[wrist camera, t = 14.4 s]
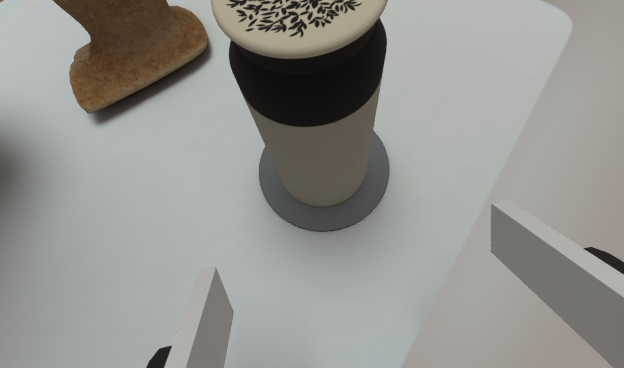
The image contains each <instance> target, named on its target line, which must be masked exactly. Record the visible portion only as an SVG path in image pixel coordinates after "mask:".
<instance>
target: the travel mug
mask: <svg viewBox="0 0 624 368" xmlns="http://www.w3.org/2000/svg"><path fill="white" fill-rule="evenodd" d="M387 1H388V0H211V5H212V10H213V14H214V17H215V19H216V22H217V23H218V25H219V27H220V28H221V29H222V31H223V32H224V33H225V34H226V35H227V36H228V37H229V38H230V39H231V42H230V48H229V61H230V66H231V69H232V72H233V74H234V76H235V78H236V81H237V83H238V85H239V87H240V90H241V92H242V94H243V96H244V99H245V101H246V103H247V105H248V107H249V110H250V112H251V114H252V116H253V119H254V121H255V123H256V125H257V128H258V130H259V132H260V134H261V137H262V139H263V141H264V143H265V145H266V148H267V150H268V152H269V154H270V157H271V159H272V161H273V163H274V166H275V168H276V170H277V172H278V175H279V177H280V179H281V181H282V183H283V185H284V187H285V189H286V190H287V191H288V192H289V193H290V195H292V196H293V197H294V198H295V199H297V200H298V201H300V202H302V203H305V204H308V205H311V206H318V207H324V206H332V205H336V204H339V203H341V202H343V201H345V200H347V199H348V198H350V197H351V196H352V195H353V194H354V193H355V192H356V191H357V190H358V189H359V187H360V186H361V184H362V183H363V180H364V178H365V174H366V169H367V163H368V157H369V151H370V145H371V139H372V133H373V127H374V121H375V115H376V109H377V103H378V97H379V91H380V85H381V79H382V73H383V67H384V61H385V55H386V47H387V39H386V33H385V29H384V26H383V24H382V22H381V20H380V18H379V17H380V16H381V14H382V12H383V11H384V9H385V6H386V4H387Z"/></svg>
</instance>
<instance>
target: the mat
mask: <svg viewBox="0 0 624 368" xmlns="http://www.w3.org/2000/svg"><path fill="white" fill-rule="evenodd" d="M388 178H389V160H388V156H387V152H386V149H385V147H384V145H383V143H382V141H381V140H380V138H379V137H378V135H377V134H376V133H375V132H374V131H373V133H372V139H371V145H370V151H369V157H368V163H367V169H366V174H365V178H364V180H363V183H362V184H361V186H360V187H359V189H358V190H357V191H356V192H355V193H354V194H353V195H352V196H351V197H350V198H348V199H347V200H345V201H343V202H341V203H339V204H336V205H332V206H324V207H318V206H311V205H308V204H305V203H302V202H300V201H298V200H297V199H295V198H294V197H293V196H292V195H290V193H289V192H288V191H287V190H286V189H285V187H284V185H283V183H282V181H281V179H280V177H279V175H278V172H277V170H276V168H275V166H274V163H273V161H272V159H271V157H270V154H269V152H268V150H267V148H266V146H265V148H264V150H263V153H262V156H261V159H260V164H259V180H260V185H261V189H262V191H263V194H264V196H265V198H266V200H267V201H268V203H269V205H270V206H271V207H272V208H273V210H274V211H275V212H276V213H277V214H278V215H279V216H280V217H282V218H283V219H285V220H286V221H287V222H289V223H291V224H293V225H295V226H298V227H300V228H303V229H307V230H312V231H333V230H339V229H342V228H345V227H348V226H351V225H353V224H355V223H357V222H358V221H360V220H362V219H363V218H364V217H366V216H367V215H368V214H369V213H370V212H371V211H372V210H373V209H374V208H375V207H376V206H377V204H378V203H379V201H380V200H381V198H382V196H383V194H384V192H385V189H386V186H387V183H388Z"/></svg>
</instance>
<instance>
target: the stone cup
mask: <svg viewBox="0 0 624 368" xmlns="http://www.w3.org/2000/svg"><path fill="white" fill-rule="evenodd" d="M53 1H54V2H55V3H56V4H57V5H59V6H60V7H61V8H62V9H63V10H64V11H66V12H67V13H68V14H69V15H71V16H72V17H73V18H74V19H75V20H76V21H78V22H79V23H80V24H81V25H82V26H83V27H84V28H85V30H86V31H87V32H88V33H89V35H90V37H91V42H90V43H88V44H87V45H85V46H83V47H82V48H80V49H78V50H77V51H76V54H75V56H74V60H75V61H74V62H73V63H72V64H71V67H70V71H69V75H70V83H71V86H72V89H73V93H74V95H75V97H76V100H77V102H78V104H79V105H80V106H81V107H82V108H83V109H84V110H85V111H86V112H87V113H93V112H95V111H98V110H100V109H102V108H104V107H106V106H108V105H111V104H112V103H114V102H116V101H118V100H120V99H123V98H125V97H127V96H129V95H131V94H132V93H134V92H136V91H138V90H140V89H142V88H144V87H146V86H148V85H150V84H152V83H154V82H155V81H157V80H159V79H161V78H162V77H164V76H166V75H168V74H170V73H171V72H173V71H174V70H176V69H178V68H180V67H181V66H183V65H185V64H186V63H188V62H189V61H191V60H193V59H194V58H196V57H197V56H198V55H200V54H201V52H203V51H204V50H205V48H206V47H207V44H208V38H207V33H206V31H205V29H204V26H203V24H202V23H201V21H200V20H199V19H198V18H197V17H196V16H195V15H194V14H193V13H192V12H190V11H188V10H187V9H185V8H182V7H179V6H169V5H168V3H167V1H166V0H53Z"/></svg>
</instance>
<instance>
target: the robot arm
mask: <svg viewBox="0 0 624 368" xmlns="http://www.w3.org/2000/svg"><path fill="white" fill-rule="evenodd" d="M491 252H492V253H493V254H494V255H495V256H496V257H497V258H498V259H499V260H500V261H501V262H502V263H503V264H504V265H505V266H506V267H508V268H509V269H510V270H511V271H512V272H513V273H514V274H515V275H516V276H517V277H518V278H519V279H520V280H521V281H522V282H523V283H524V284H526V285H527V286H528V287H529V288H530V289H531V290H532V291H533V292H534V293H535V294H536V295H537V296H538V297H539V298H540V299H542V301H544V302H545V303H546V304H547V305H548V306H549V307H550V308H551V309H552V310H553V311H554V312H555V313H556V314H557V315H558V316H560V317H561V318H562V319H563V320H564V321H565V322H566V323H567V324H568V325H569V326H570V327H571V328H572V329H573V330H574V331H575V332H576V333H578V334H579V335H580V336H581V337H582V338H583V339H584V340H585V341H586V342H587V343H588V344H589V345H590V346H591V347H592V348H593V349H595V350H596V351H597V352H598V353H599V354H600V355H601V356H602V357H603V358H604V359H605V360H606V361H607V362H608V363H610V365H611V366H613V367H614V368H624V262H622V261H621V260H619V259H617V258H616V257H614V256H612V255H611V254H609V253H606V252H604V251H601V250H598V249H596V248H593V247H589V248H584V249H583V248H581V247H580V246H578V245H577V244H575V243H574V242H572V241H571V240H569V239H567V238H566V237H564V236H563V235H561V234H560V233H558V232H557V231H555V230H554V229H552V228H550V227H549V226H547V225H546V224H544V223H542V222H541V221H539V220H538V219H536V218H535V217H533V216H532V215H530V214H529V213H527V212H526V211H524V210H522V209H521V208H519V207H518V206H516V205H515V204H513V203H512V202H510V201H509V200H503V201H499V202H495V203H491ZM233 313H234V312H233V309H232V306H231V304H230V301H229V299H228V296H227V294H226V291H225V289H224V286H223V284H222V281H221V279H220V276H219V274H218V271H217V269H216V267H215V268H211V269H207V270H202V271H200V272H199V275H198V277H197V280H196V283H195V285H194V288H193V291H192V294H191V296H190V299H189V302H188V304H187V307H186V310H185V313H184V315H183V318H182V321H181V323H180V326H179V329H178V331H177V334H176V337H175V340H174V342H173V345H172V346H169V347H164V348H160V349H159V350H158V351H157V352H156V354H155V355H154V356H153V357H152V359H151V360H150V361H149V363H148V365H147V368H224V363H225V358H226V352H227V347H228V341H229V335H230V330H231V324H232V319H233Z"/></svg>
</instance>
